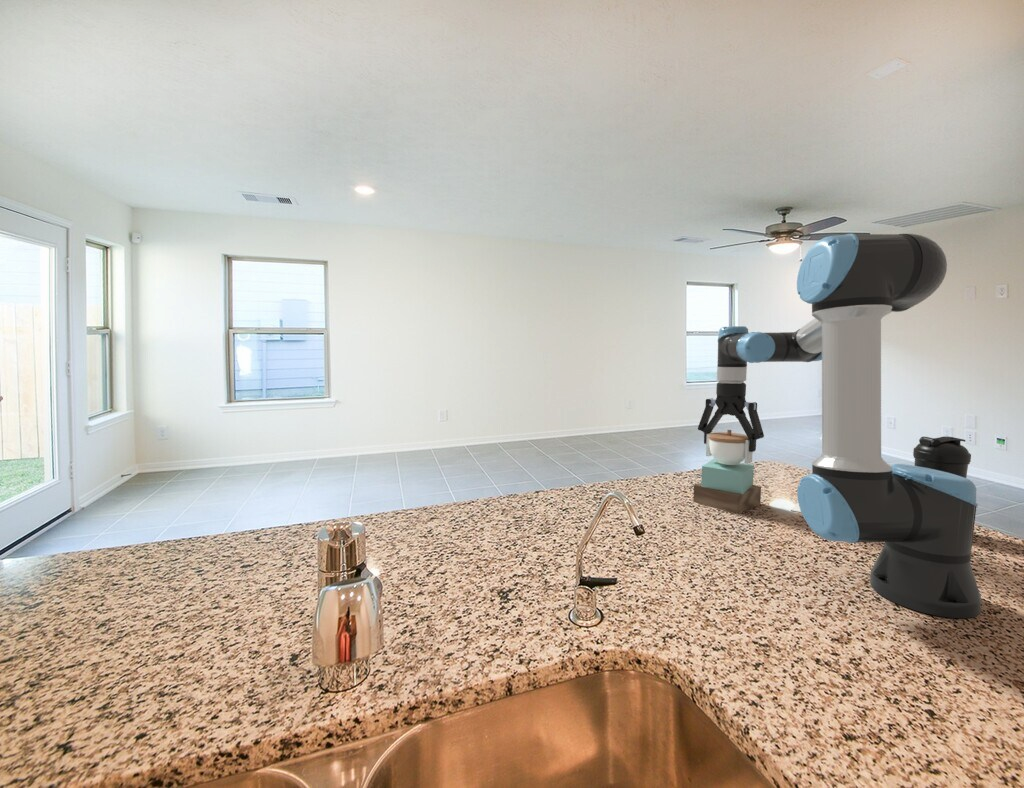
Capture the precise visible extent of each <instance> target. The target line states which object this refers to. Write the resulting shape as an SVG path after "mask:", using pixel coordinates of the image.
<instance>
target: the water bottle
mask: <svg viewBox="0 0 1024 788" xmlns="http://www.w3.org/2000/svg"><path fill="white" fill-rule="evenodd" d="M918 441H919V443H918V444H917V445H916V446H915V447H913V452H912V455H913V458H914V466H919V467H924V468H930V469H934V470H939V471H943V472H947V473H951V474H955V475H958V476H961V477H964V478H966V479H967V475H968V468H969V465H970V464H971V462H972V461H971V459H972V454H971V453H970V451H969V450H968V448H966V447H965V446H964V445H962V444H961V442H966V439H964V438H960V437H954V436H940V437H929V436H921V437H920V438H919V439H918Z"/></svg>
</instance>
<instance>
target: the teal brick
mask: <svg viewBox="0 0 1024 788" xmlns="http://www.w3.org/2000/svg"><path fill="white" fill-rule="evenodd" d="M754 469H755V464H752V463H748V464H746V463H745V462H740V464H738V465H726V464H720V463H718V462H717V460H716V459H715V458H713V459H711V460H709V461H708V462H706V463H705V464H703V465H702V466H701V480H700V481H701V482H700V483H701V487H705V488H711V489H716V490H722V491H727V492H733V493H738V494H744V493H745V492H746V491H747V490H748V489H749V488H750V487H751V486H752V485H754V474H755V473H754V471H755V470H754Z"/></svg>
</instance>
